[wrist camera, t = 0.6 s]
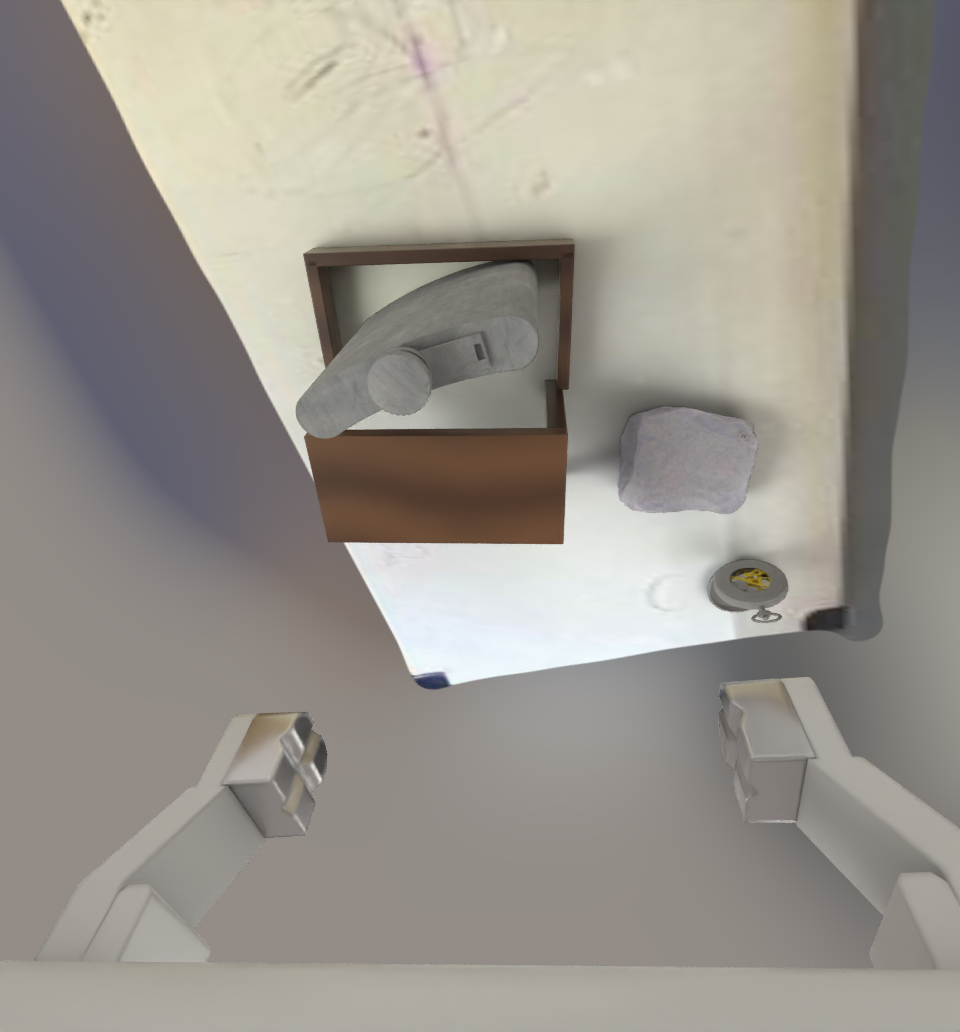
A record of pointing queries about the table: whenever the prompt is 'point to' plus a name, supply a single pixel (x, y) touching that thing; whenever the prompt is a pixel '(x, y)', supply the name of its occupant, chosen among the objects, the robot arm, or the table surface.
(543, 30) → the table surface
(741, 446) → the stone block
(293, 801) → the robot arm
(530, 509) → the shelf stand
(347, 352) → the hip flask
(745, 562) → the pocket watch
